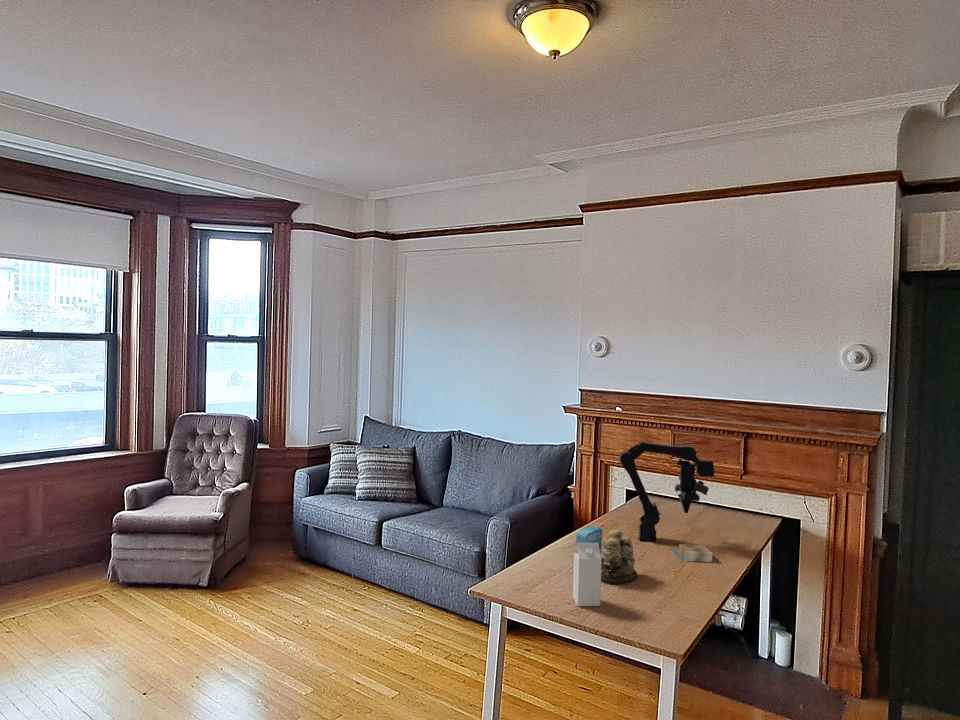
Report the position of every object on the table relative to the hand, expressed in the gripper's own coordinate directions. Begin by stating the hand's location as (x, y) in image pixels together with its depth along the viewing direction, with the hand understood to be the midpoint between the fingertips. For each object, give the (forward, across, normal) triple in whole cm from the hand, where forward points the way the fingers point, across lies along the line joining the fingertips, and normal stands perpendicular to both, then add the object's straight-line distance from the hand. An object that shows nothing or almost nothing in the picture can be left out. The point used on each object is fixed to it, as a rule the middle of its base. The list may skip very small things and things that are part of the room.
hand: (686, 512), depth 268 cm
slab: (+11, -15, +1) cm, 18 cm away
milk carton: (+13, -69, +46) cm, 83 cm away
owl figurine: (+13, -45, +33) cm, 57 cm away
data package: (+13, -28, +42) cm, 52 cm away
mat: (+13, -17, 0) cm, 22 cm away
